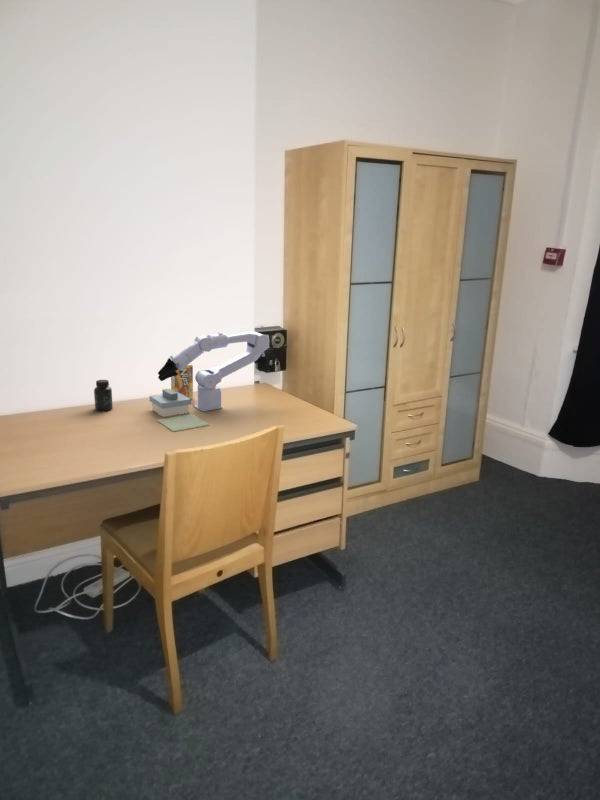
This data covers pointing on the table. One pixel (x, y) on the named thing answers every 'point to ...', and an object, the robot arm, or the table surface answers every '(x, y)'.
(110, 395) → the supplement bottle
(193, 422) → the mat
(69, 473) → the table surface
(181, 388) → the candy box
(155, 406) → the storage box
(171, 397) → the lid
